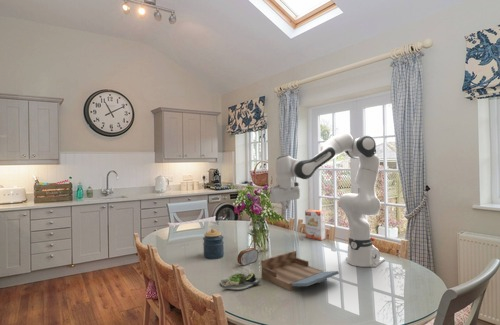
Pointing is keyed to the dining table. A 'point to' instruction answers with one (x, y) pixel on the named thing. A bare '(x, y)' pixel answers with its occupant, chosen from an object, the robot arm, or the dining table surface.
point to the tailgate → (315, 278)
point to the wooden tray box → (286, 270)
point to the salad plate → (239, 281)
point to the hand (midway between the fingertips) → (285, 208)
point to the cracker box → (315, 224)
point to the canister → (213, 244)
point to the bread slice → (247, 256)
